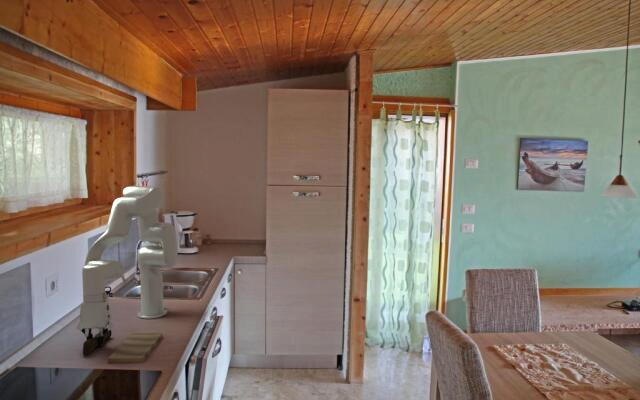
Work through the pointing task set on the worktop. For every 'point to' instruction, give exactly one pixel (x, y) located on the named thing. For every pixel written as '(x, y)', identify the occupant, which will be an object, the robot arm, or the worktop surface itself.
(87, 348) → the hand tool
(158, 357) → the worktop surface
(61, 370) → the worktop surface
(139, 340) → the board
